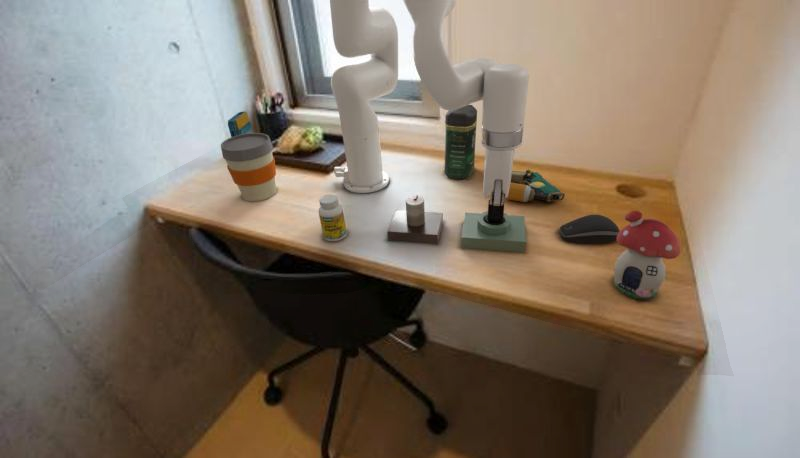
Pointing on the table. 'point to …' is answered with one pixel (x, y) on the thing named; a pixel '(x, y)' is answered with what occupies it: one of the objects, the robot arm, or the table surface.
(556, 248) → the table surface
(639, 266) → the decorative ornament
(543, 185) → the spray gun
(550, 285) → the table surface
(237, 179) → the reusable coffee cup
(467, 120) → the coffee jar
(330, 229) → the supplement bottle
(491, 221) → the button
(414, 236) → the dial panel
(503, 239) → the green push button panel
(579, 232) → the computer mouse
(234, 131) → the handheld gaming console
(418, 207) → the dial
